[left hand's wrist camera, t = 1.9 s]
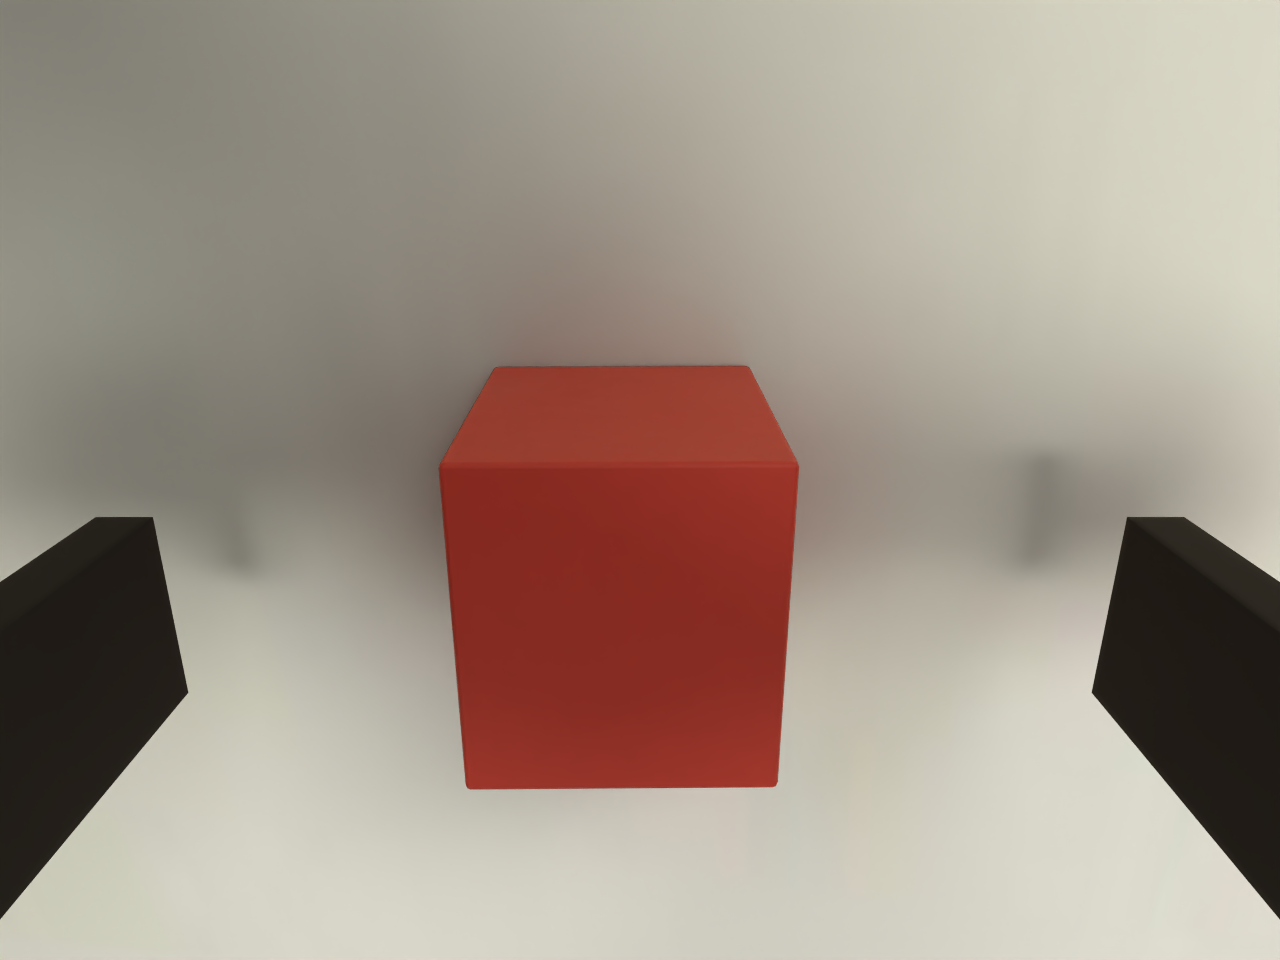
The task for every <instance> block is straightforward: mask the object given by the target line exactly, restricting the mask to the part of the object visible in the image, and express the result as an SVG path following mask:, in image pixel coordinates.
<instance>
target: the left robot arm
mask: <svg viewBox="0 0 1280 960" xmlns="http://www.w3.org/2000/svg"><path fill="white" fill-rule="evenodd" d="M187 693H188V689H187V684H186V679H185V674H184V669H183V664H182V659H181V654H180V649H179V644H178V640H177V635H176V630H175V625H174V620H173V615H172V610H171V605H170V600H169V595H168V590H167V585H166V580H165V575H164V570H163V565H162V560H161V555H160V551H159V546H158V541H157V536H156V531H155V526H154V521H153V517H95V518H94V519H92V520H91V521H90V522H88V523H87V524H85V525H84V526H82V527H81V528H79V529H78V530H76V531H75V532H73V533H72V534H70V535H69V536H67V537H66V538H64V539H63V540H62V541H60V542H59V543H57V544H56V545H54V546H53V547H51V548H50V549H48V550H47V551H45V552H44V553H42V554H41V555H39V556H38V557H36V558H35V559H34V560H32V561H31V562H29V563H28V564H26V565H25V566H23V567H22V568H20V569H19V570H17V571H16V572H14V573H13V574H11V575H10V576H8V577H7V578H6V579H4V580H3V581H1V582H0V919H1V918H2V916H3V915H4V914H5V913H6V912H7V910H8V909H9V908H10V907H11V906H12V904H13V903H14V902H15V901H16V900H17V898H18V897H19V896H20V895H21V894H22V892H23V891H24V890H25V889H26V888H27V886H28V885H29V884H30V883H31V882H32V880H33V879H34V878H35V877H36V876H37V874H38V873H39V872H40V871H41V869H42V868H43V867H44V866H45V865H46V863H47V862H48V861H49V860H50V859H51V857H52V856H53V855H54V854H55V853H56V851H57V850H58V849H59V848H60V847H61V845H62V844H63V843H64V842H65V841H66V839H67V838H68V837H69V836H70V835H71V833H72V832H73V831H74V830H75V828H76V827H77V826H78V825H79V824H80V822H81V821H82V820H83V819H84V818H85V816H86V815H87V814H88V813H89V812H90V810H91V809H92V808H93V807H94V806H95V804H96V803H97V802H98V801H99V800H100V798H101V797H102V796H103V795H104V794H105V792H106V791H107V790H108V789H109V787H110V786H111V785H112V784H113V783H114V781H115V780H116V779H117V778H118V777H119V775H120V774H121V773H122V772H123V771H124V769H125V768H126V767H127V766H128V765H129V763H130V762H131V761H132V760H133V759H134V757H135V756H136V755H137V754H138V753H139V751H140V750H141V749H142V748H143V747H144V745H145V744H146V743H147V742H148V740H149V739H150V738H151V737H152V736H153V734H154V733H155V732H156V731H157V730H158V728H159V727H160V726H161V725H162V724H163V722H164V721H165V720H166V719H167V718H168V716H169V715H170V714H171V713H172V712H173V710H174V709H175V708H176V707H177V706H178V704H179V703H180V702H181V701H182V699H183V698H184V697H185V696H186V695H187ZM1092 693H1093V695H1094V696H1095V697H1096V698H1097V699H1098V701H1099V702H1100V703H1101V704H1102V706H1103V707H1104V708H1105V709H1106V710H1107V712H1108V713H1109V714H1110V715H1111V716H1112V718H1113V719H1114V720H1115V721H1116V722H1117V724H1118V725H1119V726H1120V727H1121V728H1122V730H1123V731H1124V732H1125V733H1126V734H1127V736H1128V737H1129V738H1130V739H1131V740H1132V742H1133V743H1134V744H1135V745H1136V747H1137V748H1138V749H1139V750H1140V751H1141V753H1142V754H1143V755H1144V756H1145V757H1146V759H1147V760H1148V761H1149V762H1150V763H1151V765H1152V766H1153V767H1154V768H1155V769H1156V771H1157V772H1158V773H1159V774H1160V775H1161V777H1162V778H1163V779H1164V780H1165V781H1166V783H1167V784H1168V785H1169V786H1170V787H1171V789H1172V790H1173V791H1174V792H1175V794H1176V795H1177V796H1178V797H1179V798H1180V800H1181V801H1182V802H1183V803H1184V804H1185V806H1186V807H1187V808H1188V809H1189V810H1190V812H1191V813H1192V814H1193V815H1194V816H1195V818H1196V819H1197V820H1198V821H1199V822H1200V824H1201V825H1202V826H1203V827H1204V828H1205V830H1206V831H1207V832H1208V833H1209V835H1210V836H1211V837H1212V838H1213V839H1214V841H1215V842H1216V843H1217V844H1218V845H1219V847H1220V848H1221V849H1222V850H1223V851H1224V853H1225V854H1226V855H1227V856H1228V857H1229V859H1230V860H1231V861H1232V862H1233V863H1234V865H1235V866H1236V867H1237V868H1238V869H1239V871H1240V872H1241V873H1242V874H1243V876H1244V877H1245V878H1246V879H1247V880H1248V882H1249V883H1250V884H1251V885H1252V886H1253V888H1254V889H1255V890H1256V891H1257V892H1258V894H1259V895H1260V896H1261V897H1262V898H1263V900H1264V901H1265V902H1266V903H1267V904H1268V906H1269V907H1270V908H1271V909H1272V910H1273V912H1274V913H1275V914H1276V915H1277V916H1278V918H1279V919H1280V582H1279V581H1277V580H1276V579H1274V578H1273V577H1272V576H1270V575H1269V574H1267V573H1266V572H1264V571H1263V570H1261V569H1260V568H1258V567H1257V566H1255V565H1254V564H1252V563H1251V562H1249V561H1248V560H1246V559H1245V558H1244V557H1242V556H1241V555H1239V554H1238V553H1236V552H1235V551H1233V550H1232V549H1230V548H1229V547H1227V546H1226V545H1224V544H1223V543H1221V542H1220V541H1218V540H1217V539H1216V538H1214V537H1213V536H1211V535H1210V534H1208V533H1207V532H1205V531H1204V530H1202V529H1201V528H1199V527H1198V526H1196V525H1195V524H1193V523H1192V522H1190V521H1189V520H1188V519H1186V518H1185V517H1127V521H1126V526H1125V531H1124V536H1123V541H1122V546H1121V551H1120V555H1119V560H1118V565H1117V570H1116V575H1115V580H1114V585H1113V590H1112V595H1111V600H1110V605H1109V610H1108V615H1107V620H1106V625H1105V630H1104V635H1103V640H1102V644H1101V649H1100V654H1099V659H1098V664H1097V669H1096V674H1095V679H1094V684H1093V689H1092Z"/></svg>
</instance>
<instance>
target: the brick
mask: <svg viewBox="0 0 1280 960" xmlns="http://www.w3.org/2000/svg"><path fill="white" fill-rule="evenodd" d="M798 475H799V465H798V462H797V460H796V458H795V456H794V454H793V452H792V450H791V449H790V447H789V445H788V443H787V441H786V439H785V437H784V435H783V433H782V431H781V429H780V427H779V425H778V423H777V421H776V419H775V417H774V415H773V413H772V411H771V409H770V407H769V405H768V403H767V401H766V399H765V397H764V395H763V394H762V392H761V390H760V388H759V386H758V384H757V382H756V380H755V378H754V376H753V374H752V372H751V370H750V368H749V367H747V366H681V367H496V368H494V370H493V372H492V374H491V375H490V377H489V379H488V381H487V382H486V384H485V386H484V388H483V389H482V391H481V393H480V395H479V396H478V398H477V400H476V402H475V403H474V405H473V407H472V409H471V410H470V412H469V414H468V416H467V417H466V419H465V421H464V423H463V424H462V426H461V428H460V430H459V431H458V433H457V435H456V437H455V438H454V440H453V442H452V444H451V445H450V447H449V449H448V451H447V452H446V454H445V456H444V458H443V459H442V461H441V463H440V465H439V478H440V490H441V501H442V513H443V525H444V537H445V548H446V560H447V572H448V583H449V595H450V607H451V618H452V630H453V642H454V653H455V665H456V677H457V688H458V700H459V712H460V723H461V735H462V747H463V758H464V770H465V782H466V786H467V788H468V789H589V788H726V787H775V786H776V784H777V782H778V769H779V755H780V740H781V725H782V710H783V696H784V681H785V666H786V651H787V637H788V622H789V607H790V593H791V578H792V563H793V548H794V534H795V519H796V504H797V489H798Z"/></svg>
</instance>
